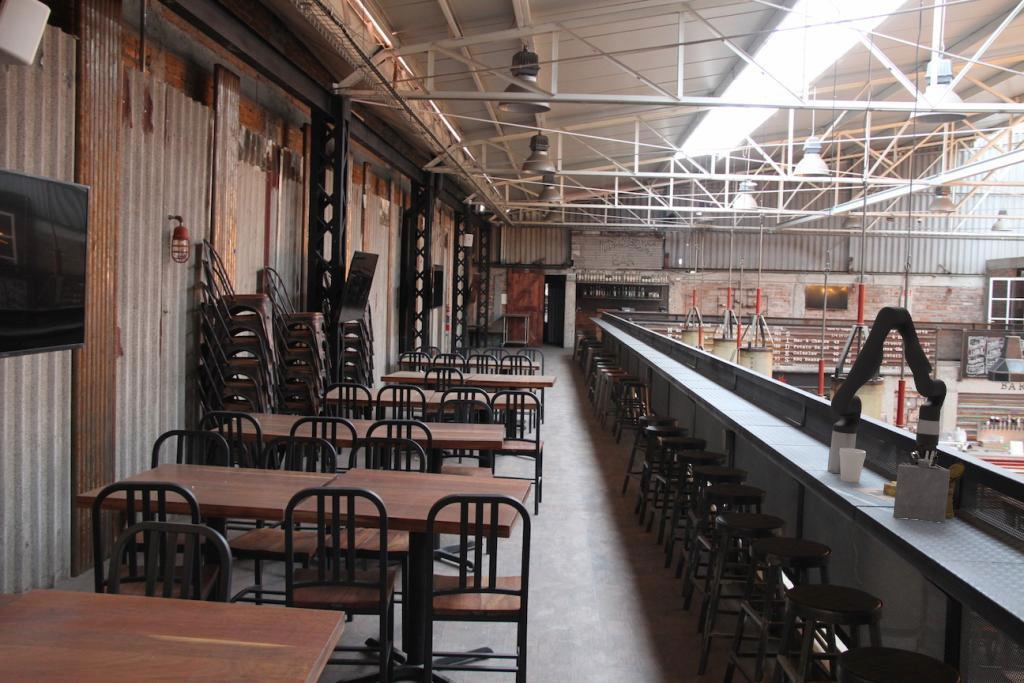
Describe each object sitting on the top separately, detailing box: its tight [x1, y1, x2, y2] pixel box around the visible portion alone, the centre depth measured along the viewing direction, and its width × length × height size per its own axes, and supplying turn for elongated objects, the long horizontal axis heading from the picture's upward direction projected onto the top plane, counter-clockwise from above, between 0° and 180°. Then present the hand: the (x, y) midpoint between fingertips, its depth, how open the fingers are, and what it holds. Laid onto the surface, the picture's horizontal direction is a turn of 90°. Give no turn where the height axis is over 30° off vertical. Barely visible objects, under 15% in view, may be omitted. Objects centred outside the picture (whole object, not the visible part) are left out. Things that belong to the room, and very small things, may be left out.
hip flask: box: [892, 459, 950, 524], centre depth 263 cm, size 16×4×20 cm, turn 80°
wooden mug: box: [945, 462, 966, 519], centre depth 272 cm, size 9×14×18 cm, turn 114°
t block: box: [883, 480, 897, 496], centre depth 294 cm, size 10×9×4 cm
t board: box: [851, 487, 895, 502], centre depth 293 cm, size 18×18×1 cm
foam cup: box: [839, 448, 867, 483], centre depth 313 cm, size 10×9×13 cm
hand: (923, 477), depth 297 cm, fingers closed
